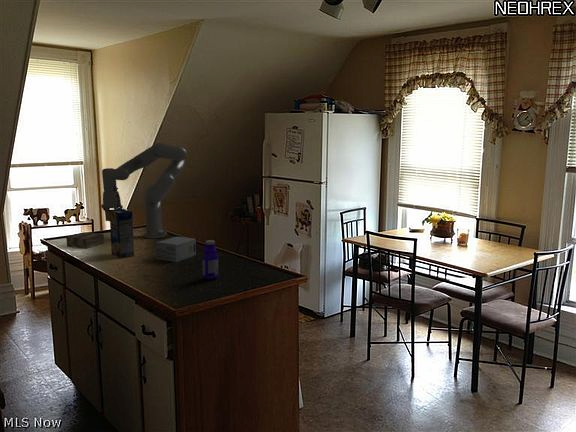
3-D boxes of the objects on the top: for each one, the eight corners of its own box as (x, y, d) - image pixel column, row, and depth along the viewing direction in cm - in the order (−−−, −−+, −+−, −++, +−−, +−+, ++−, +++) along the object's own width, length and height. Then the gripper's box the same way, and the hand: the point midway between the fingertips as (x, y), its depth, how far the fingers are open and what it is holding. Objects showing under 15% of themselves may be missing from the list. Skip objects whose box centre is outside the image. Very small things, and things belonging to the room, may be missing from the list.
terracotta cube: (120, 219, 314) (119, 209, 313) (113, 221, 309) (112, 211, 308) (112, 219, 316) (111, 209, 315) (105, 221, 311) (104, 211, 310)
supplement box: (176, 262, 264) (175, 244, 262) (156, 259, 269) (155, 241, 268) (196, 255, 278) (196, 238, 277) (176, 252, 284) (176, 235, 283)
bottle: (212, 275, 241) (211, 238, 238) (220, 278, 237) (220, 240, 234) (200, 279, 235) (199, 241, 232) (208, 281, 232) (208, 243, 229)
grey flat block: (103, 244, 303) (103, 234, 302) (86, 249, 290) (86, 238, 289) (84, 242, 308) (84, 232, 307) (67, 247, 295) (66, 236, 294)
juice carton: (111, 254, 279) (109, 209, 275) (124, 252, 283) (122, 208, 279) (120, 258, 270) (118, 212, 266) (134, 256, 274) (132, 211, 270)
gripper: (126, 188, 309) (128, 218, 313) (103, 188, 316) (105, 217, 319) (117, 190, 303) (120, 220, 306) (94, 189, 309) (97, 219, 312)
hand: (113, 218), depth 313 cm, fingers closed on terracotta cube, 6 cm apart
